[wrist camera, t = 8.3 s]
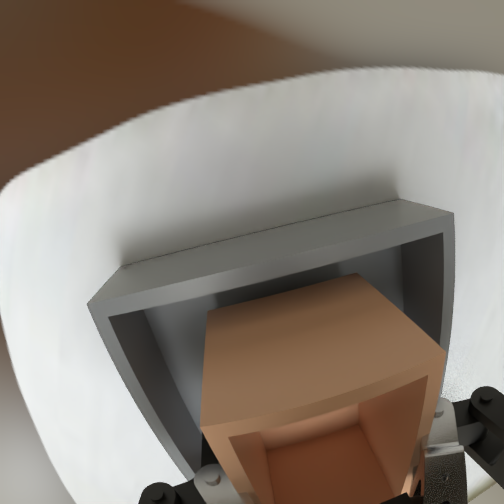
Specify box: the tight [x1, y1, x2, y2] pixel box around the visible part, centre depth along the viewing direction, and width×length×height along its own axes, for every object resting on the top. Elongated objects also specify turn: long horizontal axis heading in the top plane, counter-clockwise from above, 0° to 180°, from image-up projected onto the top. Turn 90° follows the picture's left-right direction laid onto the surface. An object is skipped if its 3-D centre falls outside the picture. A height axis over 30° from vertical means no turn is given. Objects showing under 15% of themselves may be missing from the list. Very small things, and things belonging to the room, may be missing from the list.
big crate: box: [87, 199, 455, 481], centre depth 13 cm, size 13×13×4 cm
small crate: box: [200, 272, 446, 504], centre depth 10 cm, size 6×9×6 cm, turn 13°
